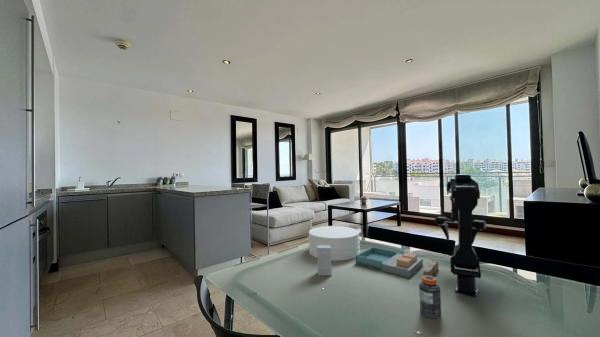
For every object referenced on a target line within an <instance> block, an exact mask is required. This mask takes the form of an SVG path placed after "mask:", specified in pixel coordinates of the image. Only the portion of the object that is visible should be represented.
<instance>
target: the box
mask: <svg viewBox="0 0 600 337" xmlns="http://www.w3.org/2000/svg"><path fill="white" fill-rule="evenodd" d="M396 254H398V253H397V251H396V250H391V249H387V248H380V247H376V246H370V247H369V248H367V249H364V250H363V251H360V253H359V254H358V255H356V257H355V265H359V266H362V267H366V268H367V267H368V268H371V269H375V270H379V271H382V264H383V263H384V262H385V261H387V260H388V259H390V258H391V257H393V256H394V255H396Z"/></svg>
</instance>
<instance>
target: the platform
mask: <svg viewBox="0 0 600 337" xmlns="http://www.w3.org/2000/svg"><path fill="white" fill-rule="evenodd" d="M402 255H403V254H401V253H397V254H396V255H394V256H393V257H391V258H390V259H388V260H387V261H385V262H384V263H383V264H382V270H381V271H383V272H386V273H389V274H393V273H394V274H393V275H398V276H401V277H406V278H411V277H412V276H413V275H414V274H416V272H417V271H419V270H420V268H422V267H423V265H424V260H423V258H421V257H417V260H416V261H415V262H414V263H412V265H411V266H409V267H404V266H400V265H397V259H398V258H399V257H402Z"/></svg>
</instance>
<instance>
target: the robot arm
mask: <svg viewBox="0 0 600 337" xmlns="http://www.w3.org/2000/svg"><path fill="white" fill-rule="evenodd" d="M446 192H448V194H450V196H449V200H450V202H451V203H450V204H451V209H450V217H451V219H450V218H448V217H447V216H437V217H435V219H434V224H435V225H437V226H438V227H440V228H441V230H442V232H443V233H444V236H445V237H446V240H447V241H450V235H449V234H450V233H449V224H451V225H458V243H457V244H455V245H454V249H453V254H451V257H450V258H449V259H450V261H449V262H450V273H452V274H453V275H454V276H455V275H456V283H457V284H456V287H455V289H454V292H456V293H460V294H464V295H468V296H472V297H477V295H478V293H479V292H478V291H479V288H476V286H477V282H476V279H482V272H481V266H480V264H481V263H480V258H479V257H478V255H477V253H476V250H475V248H474V246H473V244H474V242H475V240H476V237H477V234H478V232H481V231H482V230H485V229H486V228H487V222H486V221H485V220H482V219H481V220H479V219H474V220H473V211H474V210H475V208H476V207H478V204H479V203H478V201H479V199H480V197H481V192H480V187H479V183H478V182H477V181H475V180H474V179H473V178H472V177H471V174H469V173H459V174H458V173H457V174H454V178H450V179H449V180H447V183H446Z"/></svg>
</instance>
